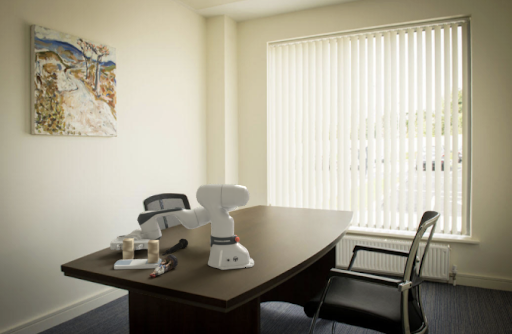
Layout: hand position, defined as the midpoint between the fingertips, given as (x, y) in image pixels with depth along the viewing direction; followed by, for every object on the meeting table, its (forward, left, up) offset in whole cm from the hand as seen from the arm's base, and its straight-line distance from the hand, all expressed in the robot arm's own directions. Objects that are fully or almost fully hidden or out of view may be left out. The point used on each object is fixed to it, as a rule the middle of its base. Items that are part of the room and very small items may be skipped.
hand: (128, 248), depth 188 cm
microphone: (-21, -14, -6) cm, 26 cm away
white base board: (-7, +10, -6) cm, 14 cm away
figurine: (-20, +21, -6) cm, 29 cm away
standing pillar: (-14, +10, -4) cm, 18 cm away
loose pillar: (0, -1, -6) cm, 6 cm away
